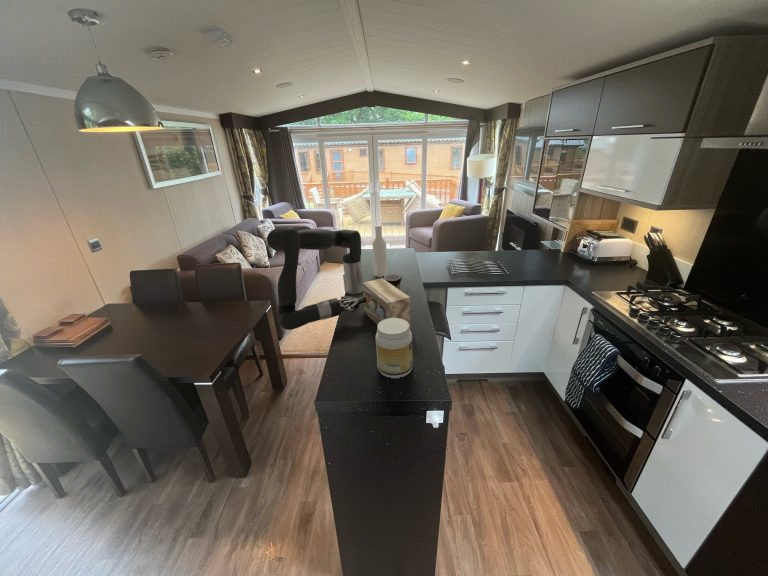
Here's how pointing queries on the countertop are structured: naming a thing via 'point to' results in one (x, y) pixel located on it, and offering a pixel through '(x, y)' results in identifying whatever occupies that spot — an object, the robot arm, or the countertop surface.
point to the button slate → (380, 313)
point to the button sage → (372, 305)
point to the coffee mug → (393, 280)
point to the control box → (386, 300)
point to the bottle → (379, 253)
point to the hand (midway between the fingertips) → (365, 299)
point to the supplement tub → (394, 348)
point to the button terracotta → (367, 298)
